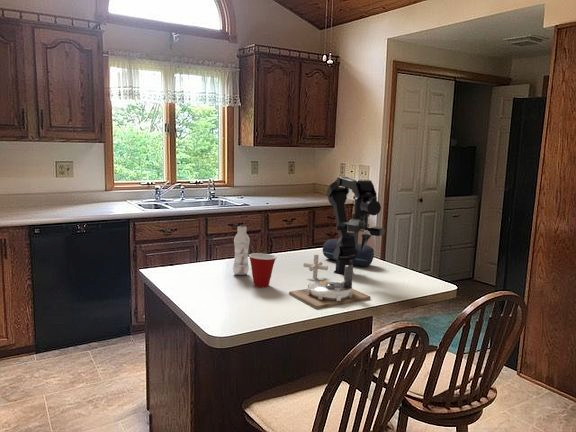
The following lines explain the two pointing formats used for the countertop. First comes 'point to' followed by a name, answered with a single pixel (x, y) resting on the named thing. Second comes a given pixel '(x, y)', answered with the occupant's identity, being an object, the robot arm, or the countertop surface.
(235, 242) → the plastic bottle
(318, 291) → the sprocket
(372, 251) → the portable speaker
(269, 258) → the plastic cup
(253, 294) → the countertop surface
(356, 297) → the base board
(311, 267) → the pipe connector
